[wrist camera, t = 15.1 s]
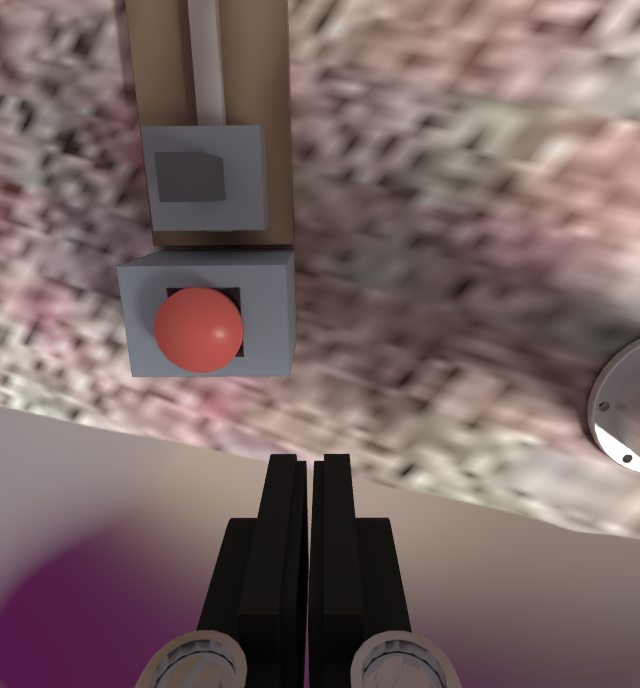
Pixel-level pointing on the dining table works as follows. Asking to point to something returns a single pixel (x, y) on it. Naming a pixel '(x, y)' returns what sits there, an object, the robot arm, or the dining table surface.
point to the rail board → (218, 90)
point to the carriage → (206, 177)
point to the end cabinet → (227, 275)
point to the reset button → (199, 329)
